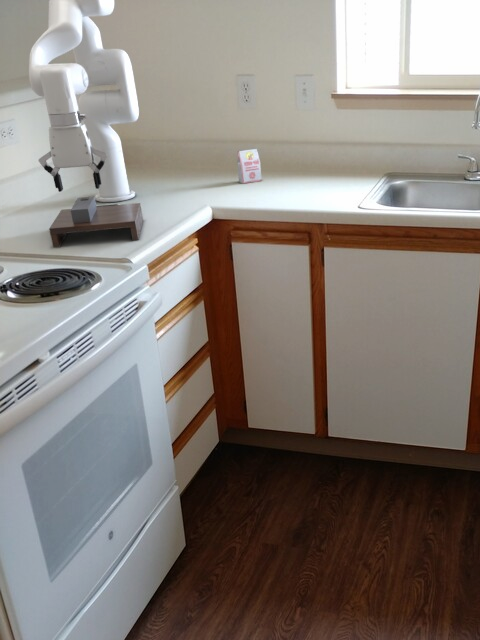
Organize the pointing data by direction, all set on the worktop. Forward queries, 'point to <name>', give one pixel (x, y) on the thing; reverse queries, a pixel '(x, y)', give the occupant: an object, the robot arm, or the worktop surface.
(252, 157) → the white paper food bag
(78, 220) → the grey long block
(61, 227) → the shelf
